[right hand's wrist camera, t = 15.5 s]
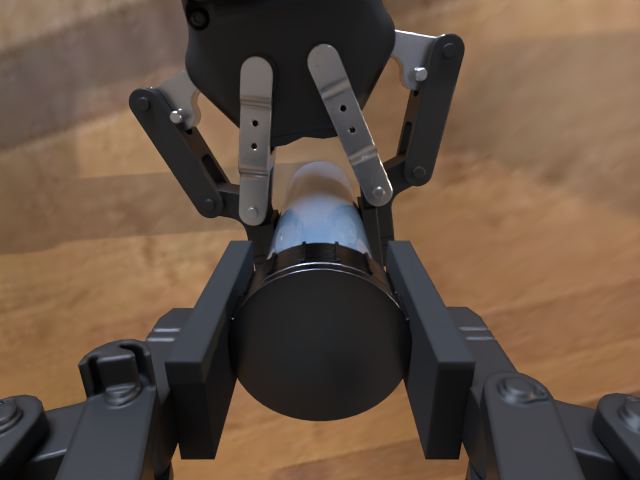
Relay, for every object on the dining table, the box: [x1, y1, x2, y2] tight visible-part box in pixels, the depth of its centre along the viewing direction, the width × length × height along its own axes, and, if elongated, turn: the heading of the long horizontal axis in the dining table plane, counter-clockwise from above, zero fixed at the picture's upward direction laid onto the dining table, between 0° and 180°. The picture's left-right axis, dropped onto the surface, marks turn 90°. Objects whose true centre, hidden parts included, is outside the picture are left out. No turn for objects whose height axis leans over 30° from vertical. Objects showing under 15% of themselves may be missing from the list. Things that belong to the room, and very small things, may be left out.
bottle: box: [266, 161, 374, 260], centre depth 18 cm, size 4×4×15 cm
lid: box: [228, 241, 412, 421], centre depth 11 cm, size 5×5×2 cm
